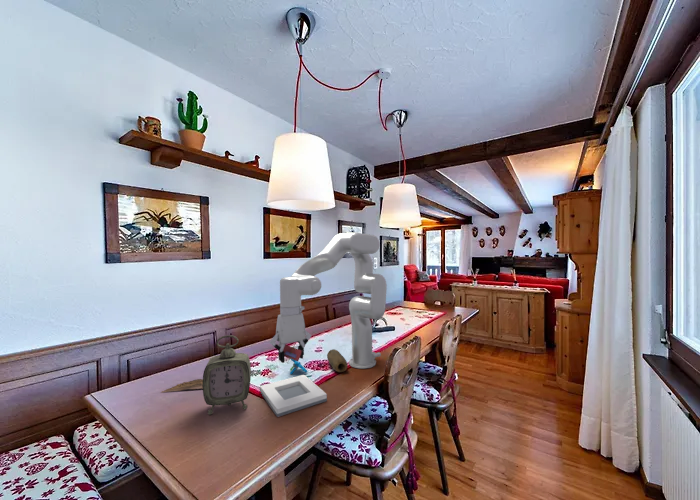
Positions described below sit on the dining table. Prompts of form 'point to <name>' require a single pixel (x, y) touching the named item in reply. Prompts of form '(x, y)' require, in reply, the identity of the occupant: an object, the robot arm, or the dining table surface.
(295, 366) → the gear
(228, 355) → the tabletop clock
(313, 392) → the square picture frame
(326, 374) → the dining table surface
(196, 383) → the wooden fragment
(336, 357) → the stone weight
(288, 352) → the geometric puzzle
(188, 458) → the dining table surface
